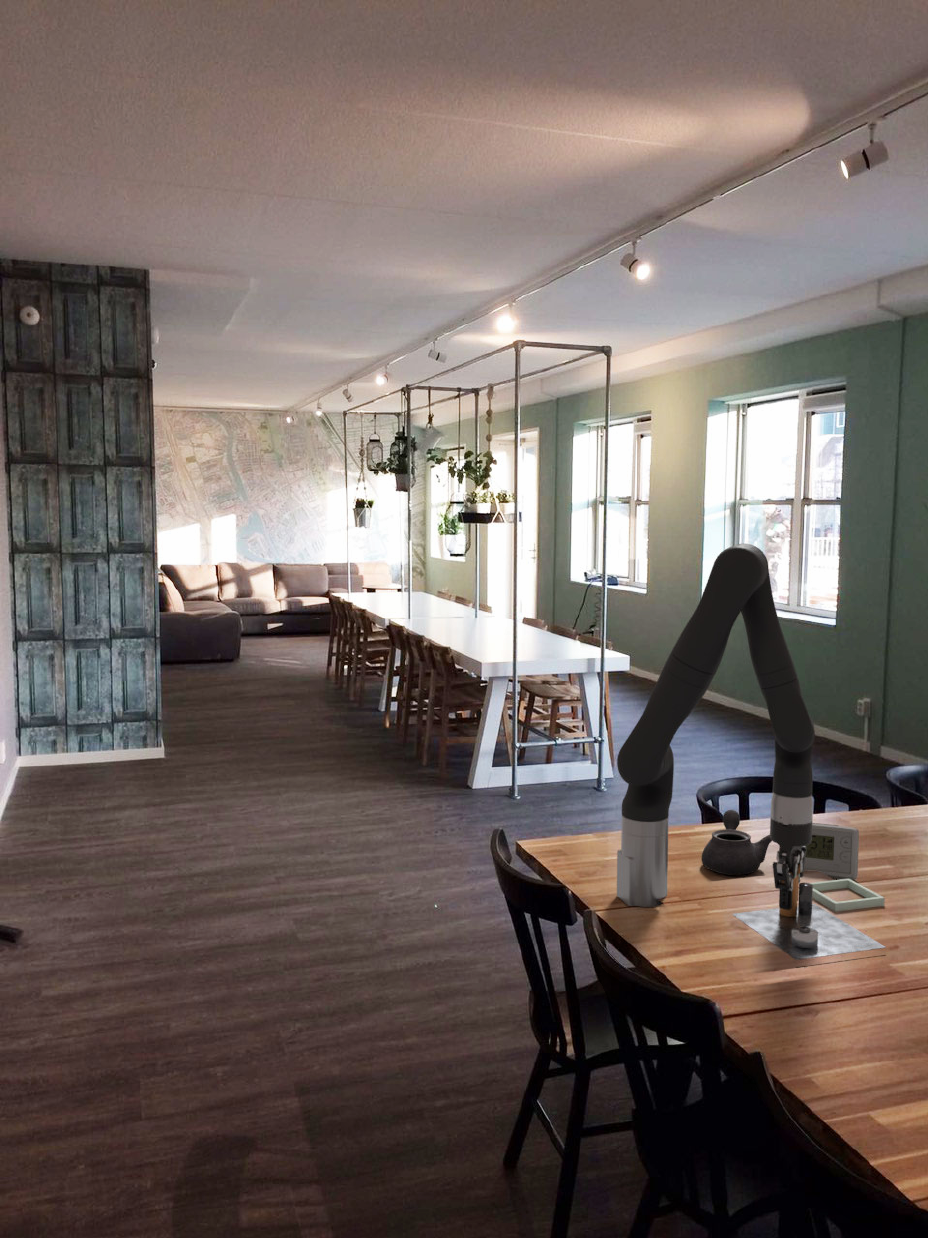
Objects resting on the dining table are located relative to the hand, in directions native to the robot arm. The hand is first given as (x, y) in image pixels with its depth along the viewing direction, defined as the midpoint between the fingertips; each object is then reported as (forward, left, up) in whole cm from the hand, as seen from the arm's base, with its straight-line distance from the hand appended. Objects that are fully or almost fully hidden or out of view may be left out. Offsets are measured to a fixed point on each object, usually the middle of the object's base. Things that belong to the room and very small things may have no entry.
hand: (788, 905), depth 195 cm
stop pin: (0, 0, -2) cm, 2 cm away
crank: (-2, -8, -2) cm, 8 cm away
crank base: (-1, -7, -3) cm, 8 cm away
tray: (+15, +4, -3) cm, 16 cm away
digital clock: (+21, +21, -4) cm, 30 cm away
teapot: (+8, +32, -4) cm, 33 cm away
